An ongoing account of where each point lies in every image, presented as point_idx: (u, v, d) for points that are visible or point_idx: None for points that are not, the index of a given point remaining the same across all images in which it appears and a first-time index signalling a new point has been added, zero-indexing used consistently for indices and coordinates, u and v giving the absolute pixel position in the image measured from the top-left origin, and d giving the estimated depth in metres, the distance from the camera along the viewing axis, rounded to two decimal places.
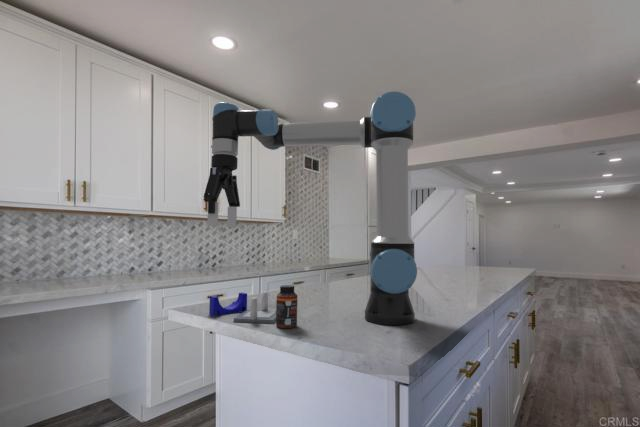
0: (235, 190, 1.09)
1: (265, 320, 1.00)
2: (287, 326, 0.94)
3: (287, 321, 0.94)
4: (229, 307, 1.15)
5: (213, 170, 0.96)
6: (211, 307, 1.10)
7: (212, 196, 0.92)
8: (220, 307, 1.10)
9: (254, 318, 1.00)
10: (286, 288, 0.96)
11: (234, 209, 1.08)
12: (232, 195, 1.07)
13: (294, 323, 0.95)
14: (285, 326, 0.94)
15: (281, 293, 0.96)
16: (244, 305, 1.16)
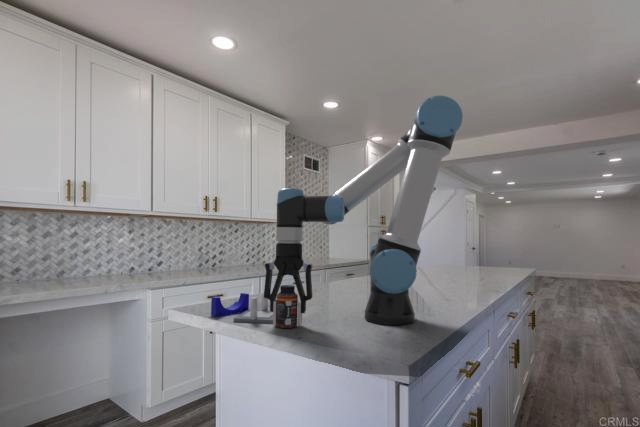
0: (306, 280, 0.96)
1: (265, 320, 1.00)
2: (287, 326, 0.94)
3: (287, 321, 0.94)
4: (231, 308, 1.14)
5: None
6: (213, 308, 1.09)
7: (264, 296, 0.97)
8: (222, 308, 1.09)
9: (254, 318, 1.00)
10: (286, 288, 0.96)
11: None
12: None
13: (294, 323, 0.95)
14: (285, 326, 0.94)
15: (281, 293, 0.96)
16: (246, 306, 1.15)
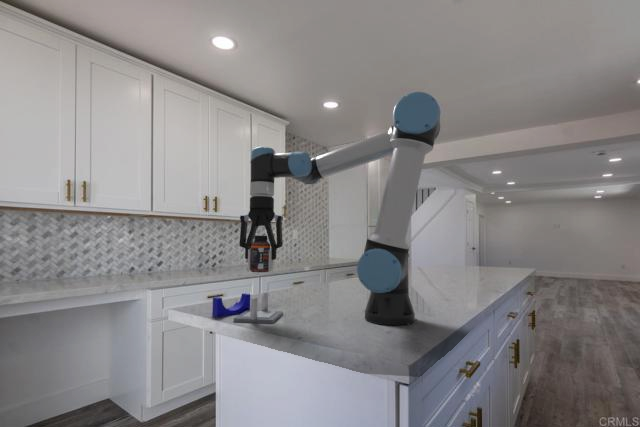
0: None
1: (265, 320, 1.00)
2: (260, 270, 1.04)
3: (259, 265, 1.04)
4: (232, 308, 1.13)
5: None
6: (214, 308, 1.08)
7: (240, 245, 1.08)
8: (223, 308, 1.08)
9: (254, 318, 1.00)
10: (259, 237, 1.06)
11: None
12: None
13: (266, 268, 1.05)
14: (258, 270, 1.04)
15: (255, 241, 1.06)
16: (247, 306, 1.14)
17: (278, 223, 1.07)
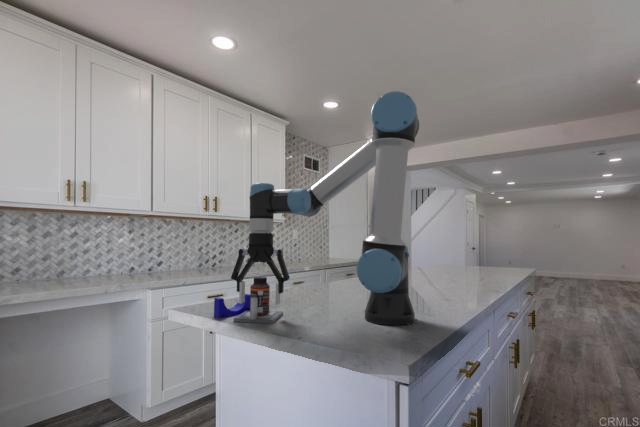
0: (279, 264, 1.06)
1: (265, 320, 1.00)
2: (259, 314, 1.03)
3: (259, 309, 1.03)
4: (233, 309, 1.12)
5: None
6: (216, 309, 1.07)
7: (231, 277, 1.07)
8: (225, 309, 1.08)
9: (254, 318, 1.00)
10: (258, 279, 1.05)
11: None
12: None
13: (266, 311, 1.05)
14: (257, 314, 1.03)
15: (254, 284, 1.05)
16: (249, 306, 1.14)
17: (279, 257, 1.06)
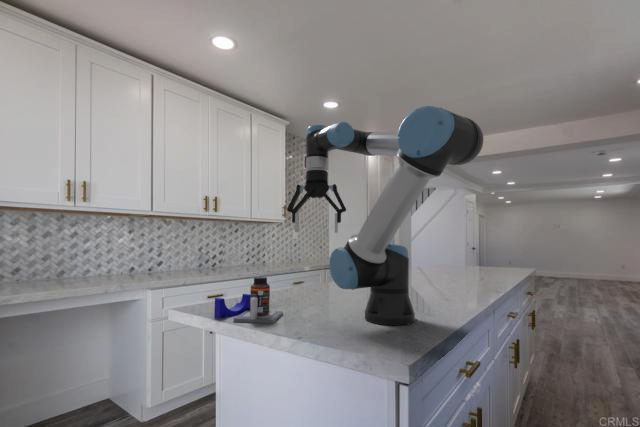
0: (336, 197, 1.16)
1: (265, 320, 1.00)
2: (259, 313, 1.03)
3: (259, 309, 1.03)
4: (233, 309, 1.12)
5: None
6: (217, 309, 1.07)
7: (287, 209, 1.18)
8: (226, 309, 1.07)
9: (254, 318, 1.00)
10: (259, 279, 1.05)
11: None
12: (330, 203, 1.16)
13: (266, 311, 1.05)
14: (257, 313, 1.03)
15: (254, 284, 1.05)
16: (249, 306, 1.14)
17: (335, 191, 1.16)
